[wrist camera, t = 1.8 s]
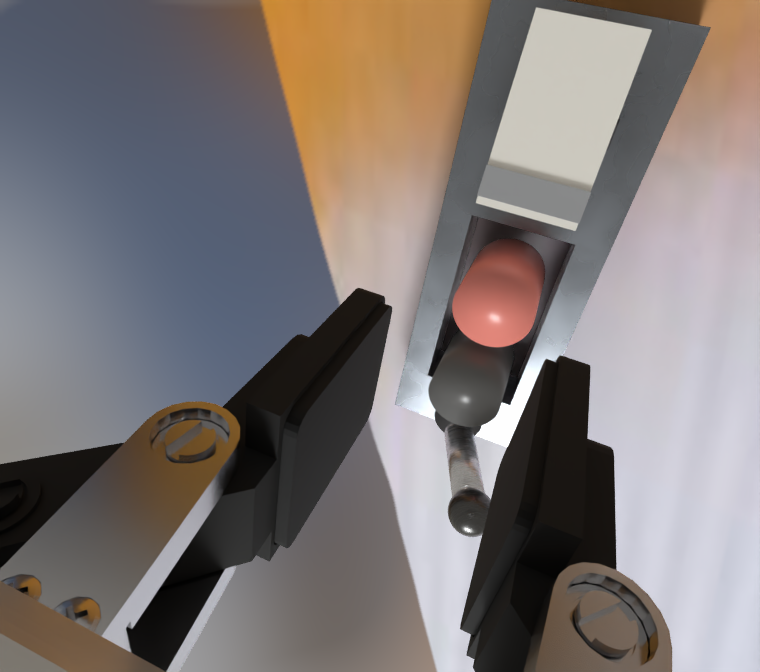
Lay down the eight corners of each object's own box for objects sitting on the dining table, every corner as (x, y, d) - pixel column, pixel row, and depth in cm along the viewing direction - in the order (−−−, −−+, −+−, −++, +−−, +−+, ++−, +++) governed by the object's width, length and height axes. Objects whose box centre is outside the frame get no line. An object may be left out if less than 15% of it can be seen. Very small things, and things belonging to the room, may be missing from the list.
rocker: (536, 20, 20) (535, 5, 18) (644, 42, 19) (653, 28, 17) (479, 202, 22) (474, 202, 21) (574, 229, 21) (576, 231, 20)
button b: (458, 314, 28) (437, 355, 25) (523, 335, 27) (510, 381, 24) (443, 365, 30) (421, 411, 27) (503, 386, 29) (488, 436, 26)
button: (483, 229, 25) (463, 262, 22) (556, 250, 25) (547, 288, 21) (465, 292, 27) (444, 331, 24) (531, 313, 27) (520, 357, 23)
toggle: (443, 407, 29) (456, 514, 23) (481, 412, 29) (504, 520, 23) (434, 435, 30) (445, 543, 24) (471, 439, 30) (490, 549, 24)
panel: (506, -9, 23) (490, -16, 19) (698, 28, 21) (715, 27, 18) (409, 378, 35) (389, 413, 32) (525, 421, 33) (517, 463, 30)
